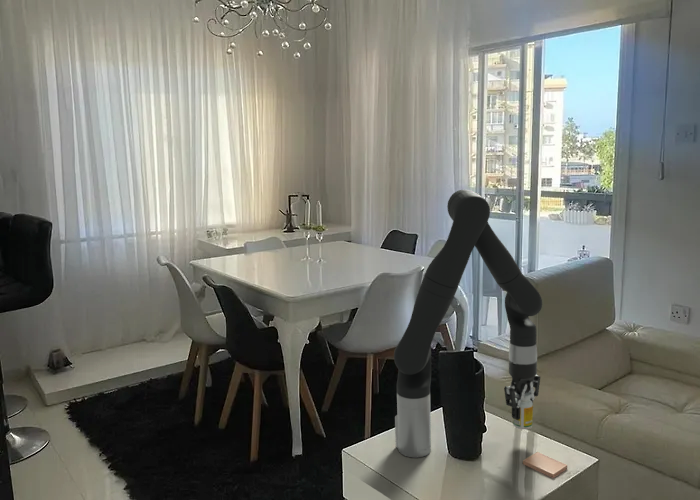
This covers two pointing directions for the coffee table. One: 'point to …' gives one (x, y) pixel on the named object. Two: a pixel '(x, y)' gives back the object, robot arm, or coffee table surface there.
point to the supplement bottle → (525, 413)
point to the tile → (545, 464)
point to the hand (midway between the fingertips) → (522, 415)
